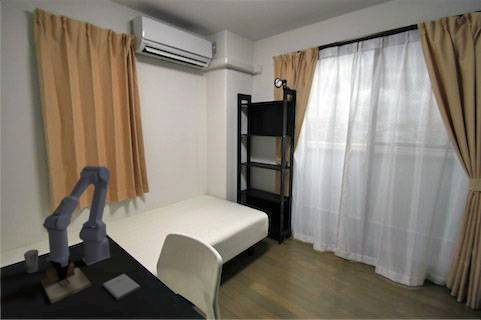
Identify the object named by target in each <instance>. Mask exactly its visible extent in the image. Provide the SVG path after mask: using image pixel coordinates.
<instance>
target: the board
mask: <svg viewBox="0 0 481 320" xmlns="http://www.w3.org/2000/svg"><path fill="white" fill-rule="evenodd" d="M74 270H75V275H74V276H71V277H69V278H66V279H64V280H61V281H58V282H56V283H53V284H51V285H49V283H48V281H47V278H45V279H42V280H41V286H42V288H43V290H44V292H45V293H46V296H47V298H48V300H49V302H50V304H53V303H56V302H58V301H60V300H63V299H65V298H67V297H70V296H72V295H74V294H76V293H78V292H81V291H83V290H85V289H87V288H89V287H91V286H92V282H91V281H90V280H89V279H88V277H86V275H85V273H84V272H83V271H82V270H81V269H80V268H79V267H78V266H77V267H74Z"/></svg>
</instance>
